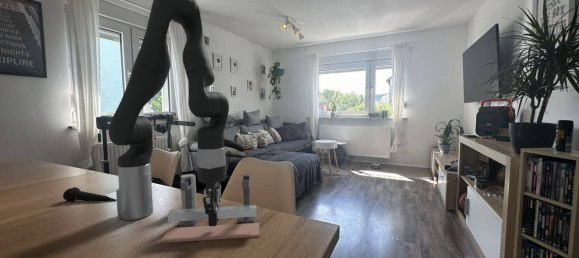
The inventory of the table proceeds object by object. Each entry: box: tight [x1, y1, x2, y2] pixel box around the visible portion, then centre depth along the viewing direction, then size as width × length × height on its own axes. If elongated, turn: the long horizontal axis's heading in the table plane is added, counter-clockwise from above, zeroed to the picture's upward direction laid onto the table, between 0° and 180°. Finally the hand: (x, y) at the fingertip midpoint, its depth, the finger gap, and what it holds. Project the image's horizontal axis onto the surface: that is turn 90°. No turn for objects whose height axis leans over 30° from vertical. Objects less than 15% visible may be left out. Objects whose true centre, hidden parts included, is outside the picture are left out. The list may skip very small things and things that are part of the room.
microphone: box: [62, 186, 117, 203], centre depth 94 cm, size 6×6×20 cm
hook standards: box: [176, 173, 256, 228], centre depth 76 cm, size 23×6×14 cm, turn 97°
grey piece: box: [180, 173, 197, 209], centre depth 86 cm, size 5×5×12 cm
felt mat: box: [160, 222, 260, 244], centre depth 69 cm, size 26×7×1 cm, turn 97°
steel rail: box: [167, 204, 257, 223], centre depth 69 cm, size 24×2×2 cm, turn 97°
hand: (213, 223), depth 69 cm, fingers closed on steel rail, 2 cm apart
